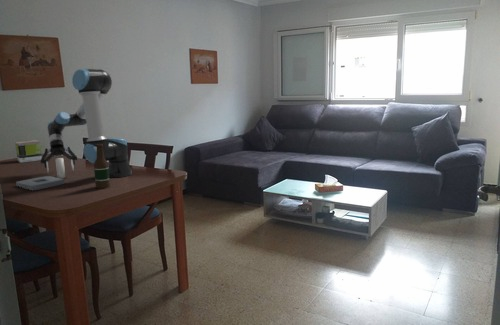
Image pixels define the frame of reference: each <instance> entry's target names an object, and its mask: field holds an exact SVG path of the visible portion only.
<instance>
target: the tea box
mask: <svg viewBox="0 0 500 325" xmlns="http://www.w3.org/2000/svg"><path fill="white" fill-rule="evenodd" d="M41 146H42V145H41V142H40V141H39V140H38V139H36V140H26V141H16V142H15V151H16V157H17V158H16V159H17V161H18V162H19V163H29V162H37V161H40V160H41V158H42V156H43V155H42V153H43V152H42V147H41Z"/></svg>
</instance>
